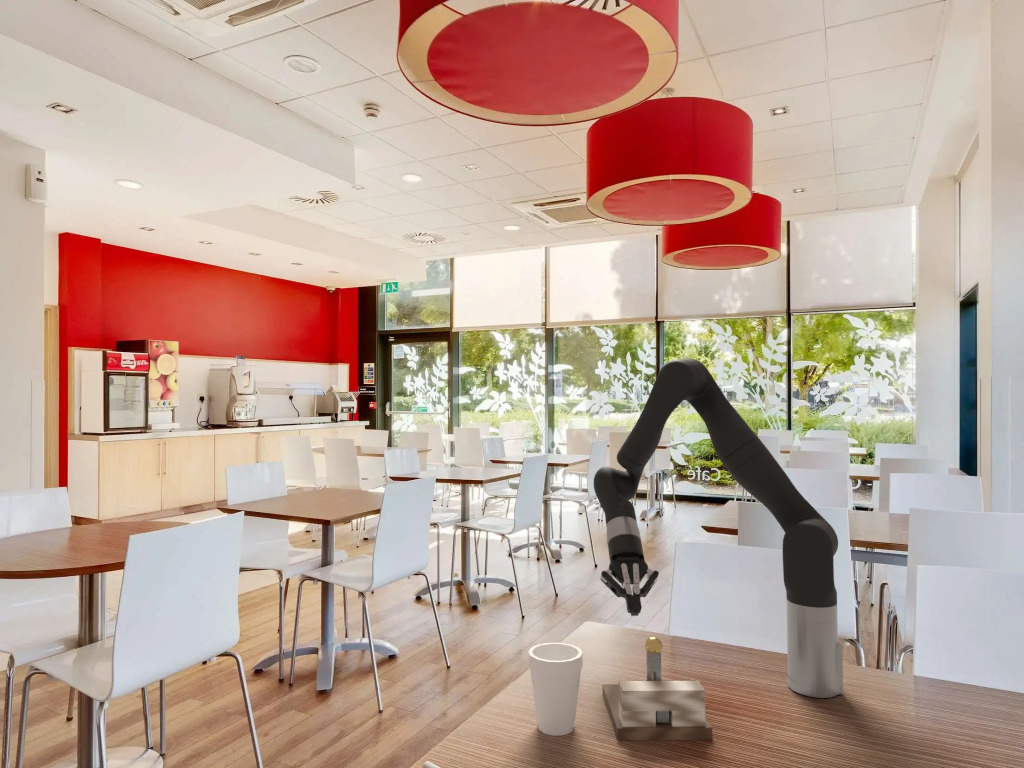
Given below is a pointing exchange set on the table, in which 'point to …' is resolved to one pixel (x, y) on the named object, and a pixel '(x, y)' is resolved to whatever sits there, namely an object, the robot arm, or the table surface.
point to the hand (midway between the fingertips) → (635, 613)
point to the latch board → (649, 731)
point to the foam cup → (555, 685)
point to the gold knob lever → (655, 669)
